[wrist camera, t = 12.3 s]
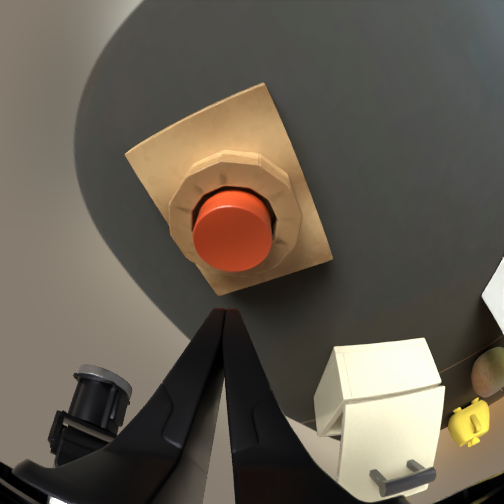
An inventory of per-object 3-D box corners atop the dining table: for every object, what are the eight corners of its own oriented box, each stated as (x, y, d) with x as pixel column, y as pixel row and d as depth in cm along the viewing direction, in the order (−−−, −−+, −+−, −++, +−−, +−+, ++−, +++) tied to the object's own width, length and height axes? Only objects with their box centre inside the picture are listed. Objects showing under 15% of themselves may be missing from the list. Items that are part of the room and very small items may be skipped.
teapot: (477, 407, 49) (487, 439, 40) (443, 425, 52) (451, 457, 44) (489, 386, 40) (503, 425, 31) (447, 408, 43) (458, 449, 35)
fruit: (487, 339, 28) (508, 385, 21) (509, 337, 28) (528, 378, 22) (456, 371, 32) (471, 414, 26) (481, 367, 33) (496, 405, 26)
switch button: (281, 237, 15) (283, 258, 13) (218, 259, 16) (215, 281, 14) (253, 177, 13) (252, 193, 11) (185, 206, 14) (177, 224, 12)
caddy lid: (423, 486, 18) (447, 505, 13) (331, 510, 18) (344, 538, 13) (440, 385, 21) (473, 391, 16) (343, 402, 21) (364, 419, 16)
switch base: (327, 243, 19) (339, 278, 16) (220, 279, 21) (215, 316, 18) (263, 82, 13) (266, 85, 10) (135, 145, 15) (109, 166, 12)
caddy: (387, 388, 33) (396, 425, 28) (313, 396, 33) (317, 437, 28) (424, 337, 26) (441, 381, 21) (333, 346, 26) (343, 399, 21)
